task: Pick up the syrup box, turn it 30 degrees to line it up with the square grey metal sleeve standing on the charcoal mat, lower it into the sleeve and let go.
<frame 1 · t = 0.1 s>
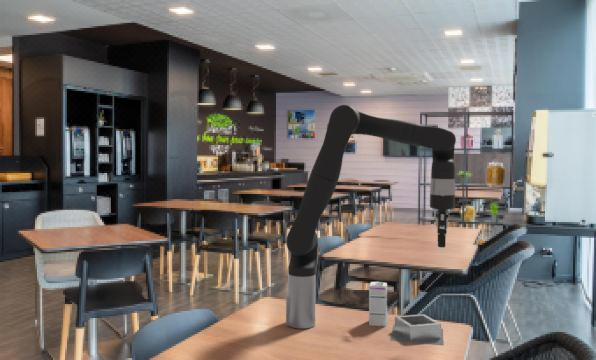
hand: (441, 244, 165), 29 cm above the table, tool pointing down, fingers open, 8 cm apart
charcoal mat: (417, 338, 165), on the table
metal sleeve: (417, 334, 165), resting on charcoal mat
syrup box: (377, 327, 176), on the table
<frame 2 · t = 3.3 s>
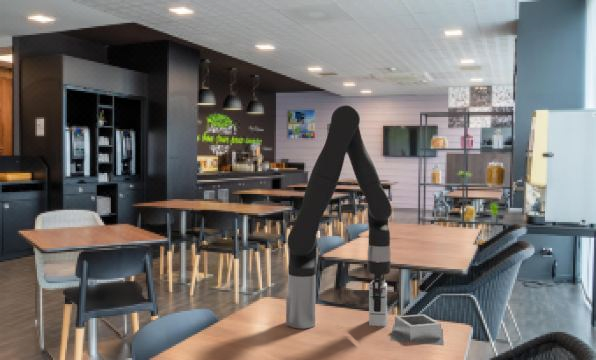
hand: (378, 308, 175), 6 cm above the table, tool pointing down, fingers closed on syrup box, 6 cm apart
syrup box: (377, 327, 176), on the table, touching gripper
when the fingers open (8 cm above the table, at t = 9.6 s): syrup box drops 1 cm, resting on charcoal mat.
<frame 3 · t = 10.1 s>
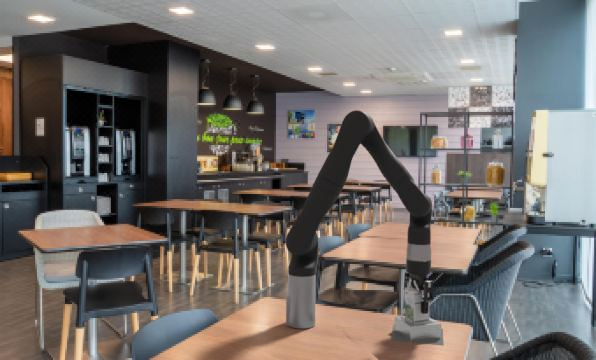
hand: (417, 309, 164), 9 cm above the table, tool pointing down, fingers open, 8 cm apart
syrup box: (416, 334, 165), point 1 cm above the table, touching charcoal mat
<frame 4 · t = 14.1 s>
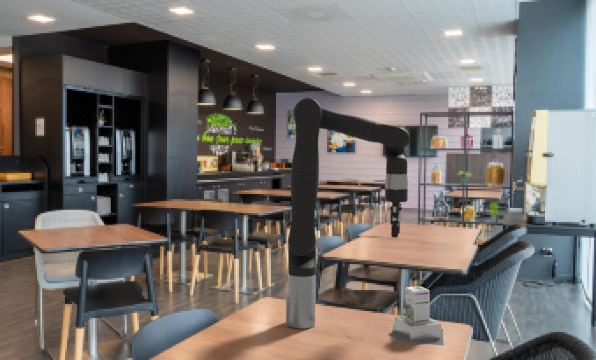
hand: (395, 235, 178), 30 cm above the table, tool pointing down, fingers open, 8 cm apart
nothing on the table moved.
at the end: syrup box 0.1 cm off-centre on the metal sleeve, point 0.0 cm above the metal sleeve's base; syrup box tilted 0°; the gripper is holding nothing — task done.
